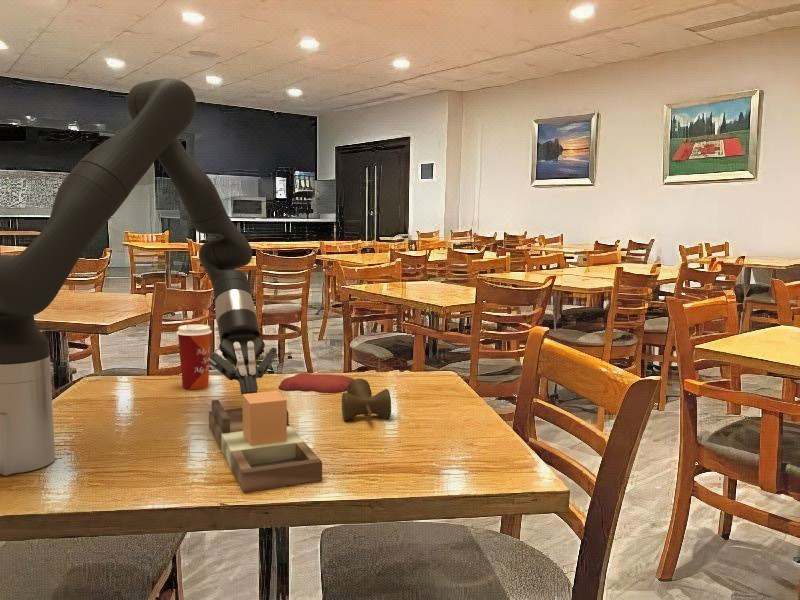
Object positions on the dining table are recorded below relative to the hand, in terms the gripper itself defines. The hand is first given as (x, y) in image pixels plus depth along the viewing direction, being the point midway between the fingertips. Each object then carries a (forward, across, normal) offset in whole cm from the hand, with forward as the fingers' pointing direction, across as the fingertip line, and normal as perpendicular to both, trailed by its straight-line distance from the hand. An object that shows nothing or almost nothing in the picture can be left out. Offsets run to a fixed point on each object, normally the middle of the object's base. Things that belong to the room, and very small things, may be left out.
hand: (250, 396), depth 122 cm
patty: (-16, +22, +28) cm, 39 cm away
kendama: (+1, +24, +10) cm, 26 cm away
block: (+10, 0, -4) cm, 11 cm away
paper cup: (-22, -5, +33) cm, 39 cm away
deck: (+11, 0, 0) cm, 11 cm away
